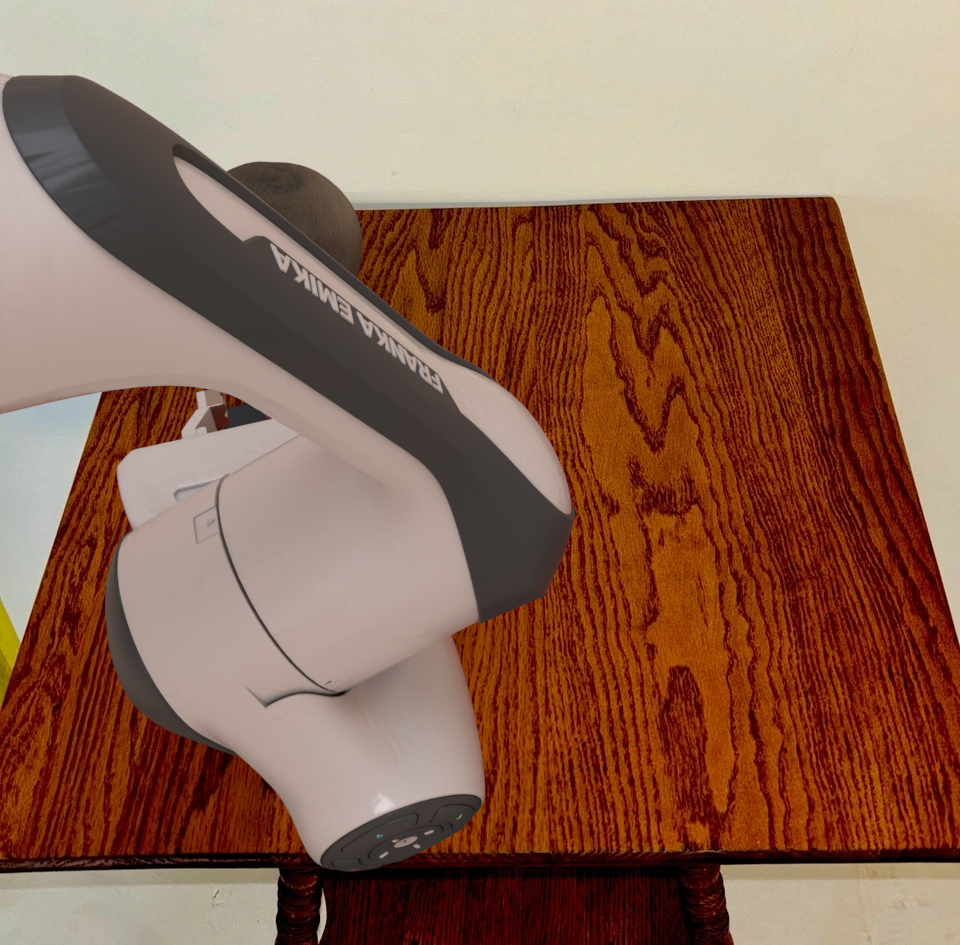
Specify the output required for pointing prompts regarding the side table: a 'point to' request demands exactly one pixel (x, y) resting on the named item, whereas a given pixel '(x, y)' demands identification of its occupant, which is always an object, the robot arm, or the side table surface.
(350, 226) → the coconut
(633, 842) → the side table surface
